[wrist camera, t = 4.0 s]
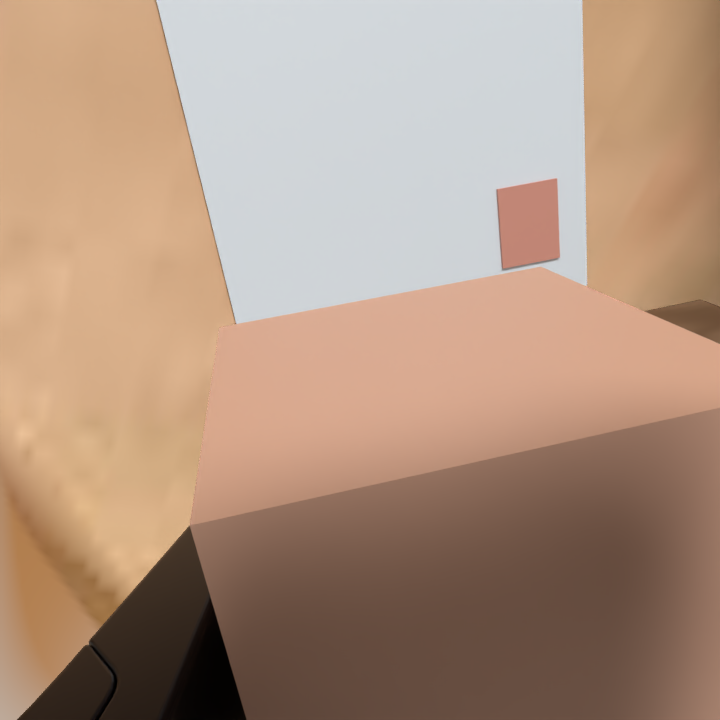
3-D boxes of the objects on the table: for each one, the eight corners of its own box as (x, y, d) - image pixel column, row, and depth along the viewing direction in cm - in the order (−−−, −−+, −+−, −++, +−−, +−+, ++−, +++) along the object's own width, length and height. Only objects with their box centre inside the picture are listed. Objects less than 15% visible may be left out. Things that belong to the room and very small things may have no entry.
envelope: (570, -437, 15) (576, -448, 14) (584, 283, 22) (588, 286, 21) (61, -388, 14) (57, -399, 13) (244, 352, 21) (243, 355, 20)
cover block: (540, 266, 10) (816, 386, 5) (551, 531, 11) (761, 802, 7) (219, 327, 9) (188, 525, 4) (283, 595, 11) (311, 938, 6)
